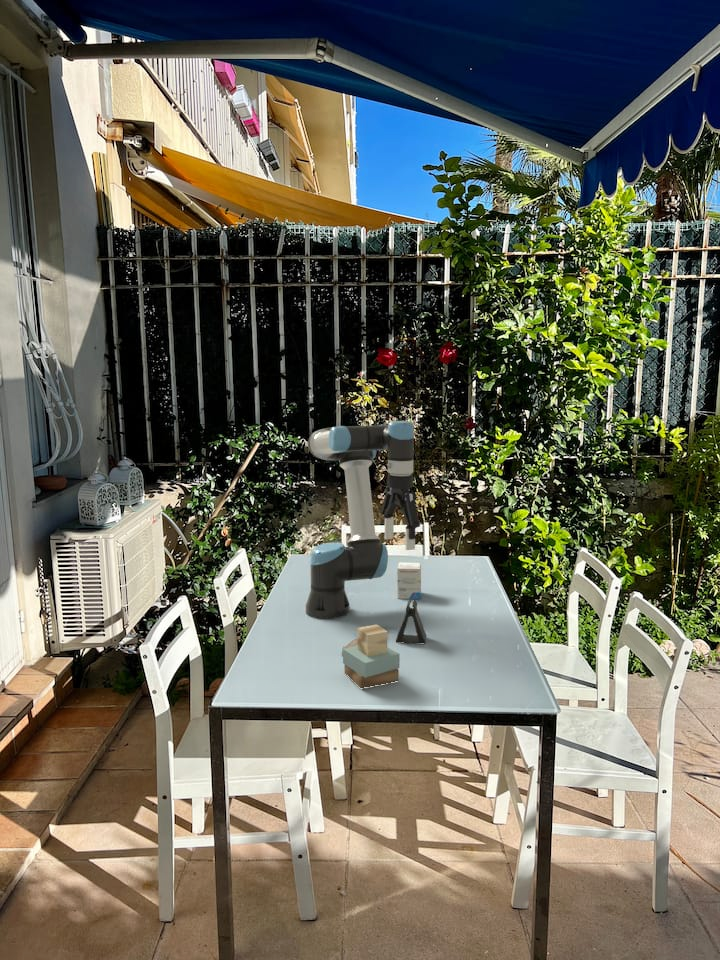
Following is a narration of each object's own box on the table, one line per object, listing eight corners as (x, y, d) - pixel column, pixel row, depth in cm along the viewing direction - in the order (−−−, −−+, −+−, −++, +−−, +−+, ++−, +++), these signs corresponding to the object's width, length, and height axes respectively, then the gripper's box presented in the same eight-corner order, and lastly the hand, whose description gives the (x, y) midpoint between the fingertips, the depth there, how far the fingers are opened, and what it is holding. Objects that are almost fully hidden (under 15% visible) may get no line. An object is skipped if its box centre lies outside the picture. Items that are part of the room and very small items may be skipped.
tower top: (343, 663, 194) (342, 649, 194) (376, 654, 200) (376, 640, 199) (365, 677, 185) (365, 663, 184) (399, 668, 191) (399, 653, 190)
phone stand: (395, 642, 218) (395, 604, 216) (397, 635, 224) (398, 598, 222) (424, 644, 217) (425, 606, 215) (426, 637, 222) (427, 600, 221)
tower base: (344, 675, 196) (344, 661, 195) (380, 668, 200) (380, 654, 200) (361, 691, 186) (361, 677, 185) (398, 683, 191) (398, 669, 190)
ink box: (421, 592, 267) (421, 562, 265) (420, 599, 259) (421, 568, 257) (398, 591, 268) (398, 561, 266) (396, 598, 259) (397, 567, 258)
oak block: (357, 649, 194) (357, 628, 193) (376, 645, 196) (376, 624, 195) (367, 656, 188) (367, 635, 187) (387, 652, 191) (387, 631, 190)
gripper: (370, 468, 219) (370, 535, 223) (409, 481, 197) (408, 555, 200) (392, 467, 222) (391, 533, 226) (432, 479, 200) (431, 552, 203)
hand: (399, 544), depth 213 cm, fingers open, 13 cm apart
